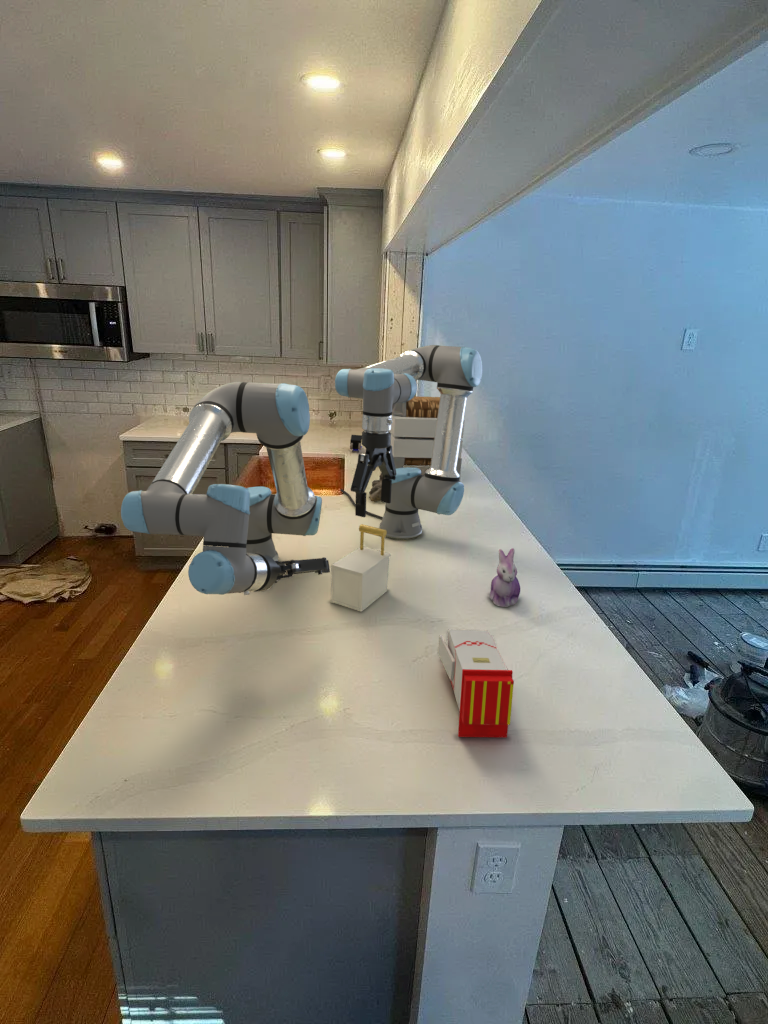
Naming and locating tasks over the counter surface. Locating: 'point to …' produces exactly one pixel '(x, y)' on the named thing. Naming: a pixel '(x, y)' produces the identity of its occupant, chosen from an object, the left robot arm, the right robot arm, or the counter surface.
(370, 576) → the chest
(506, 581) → the figurine
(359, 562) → the lid
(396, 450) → the white wooden crate
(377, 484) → the fossil
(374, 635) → the counter surface
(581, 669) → the counter surface
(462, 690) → the toy
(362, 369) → the right robot arm
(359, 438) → the figurine character
